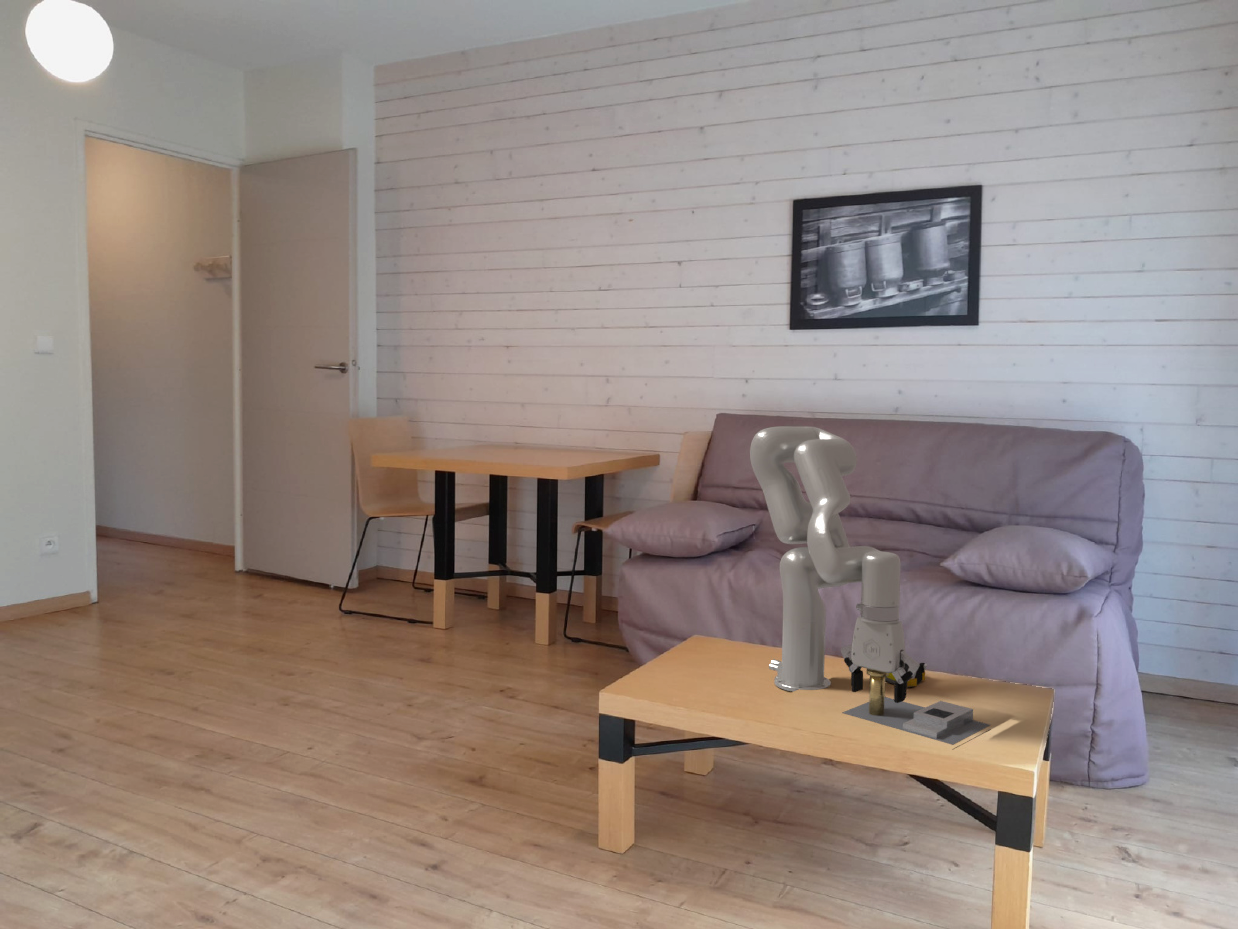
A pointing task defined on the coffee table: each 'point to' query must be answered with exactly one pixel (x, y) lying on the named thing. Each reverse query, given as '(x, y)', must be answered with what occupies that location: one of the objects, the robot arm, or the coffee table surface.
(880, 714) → the pin
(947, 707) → the grey slotted housing block
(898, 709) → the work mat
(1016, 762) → the coffee table surface
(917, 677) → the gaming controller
